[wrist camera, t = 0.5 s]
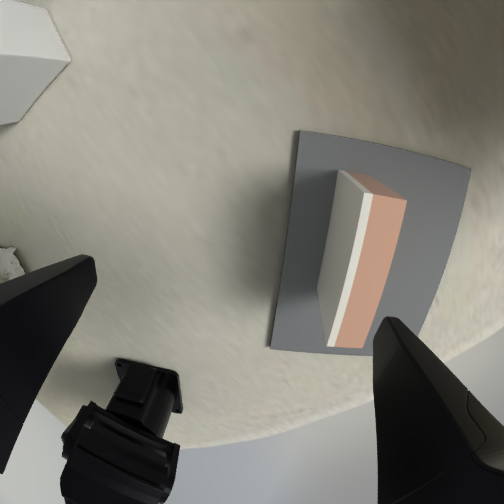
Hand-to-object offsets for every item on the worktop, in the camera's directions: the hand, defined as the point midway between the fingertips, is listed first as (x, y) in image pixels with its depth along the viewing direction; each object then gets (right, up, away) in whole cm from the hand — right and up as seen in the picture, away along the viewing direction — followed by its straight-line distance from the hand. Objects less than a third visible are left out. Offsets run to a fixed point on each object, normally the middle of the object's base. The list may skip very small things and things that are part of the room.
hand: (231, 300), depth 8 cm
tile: (+6, +2, +10) cm, 12 cm away
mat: (+9, +1, +11) cm, 14 cm away
